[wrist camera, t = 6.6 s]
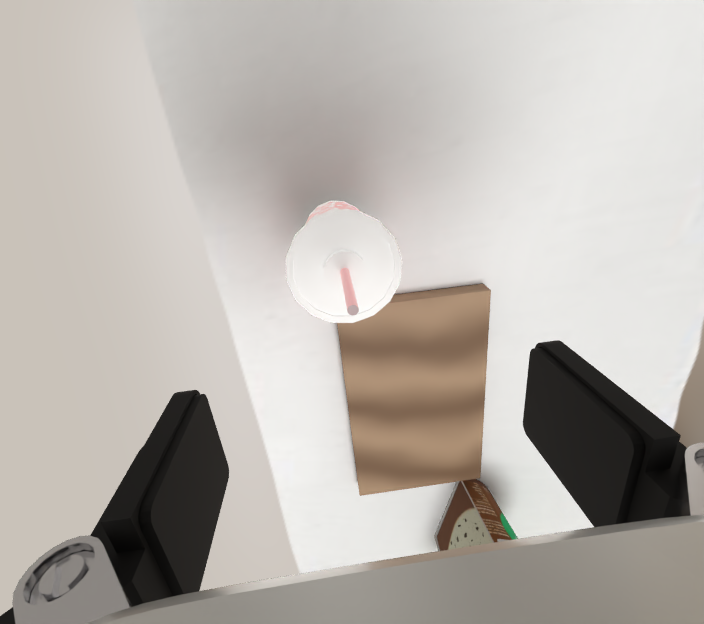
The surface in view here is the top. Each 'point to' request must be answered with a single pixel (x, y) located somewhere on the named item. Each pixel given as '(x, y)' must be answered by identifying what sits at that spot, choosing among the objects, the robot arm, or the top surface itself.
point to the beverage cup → (343, 264)
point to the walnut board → (418, 388)
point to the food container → (472, 518)
